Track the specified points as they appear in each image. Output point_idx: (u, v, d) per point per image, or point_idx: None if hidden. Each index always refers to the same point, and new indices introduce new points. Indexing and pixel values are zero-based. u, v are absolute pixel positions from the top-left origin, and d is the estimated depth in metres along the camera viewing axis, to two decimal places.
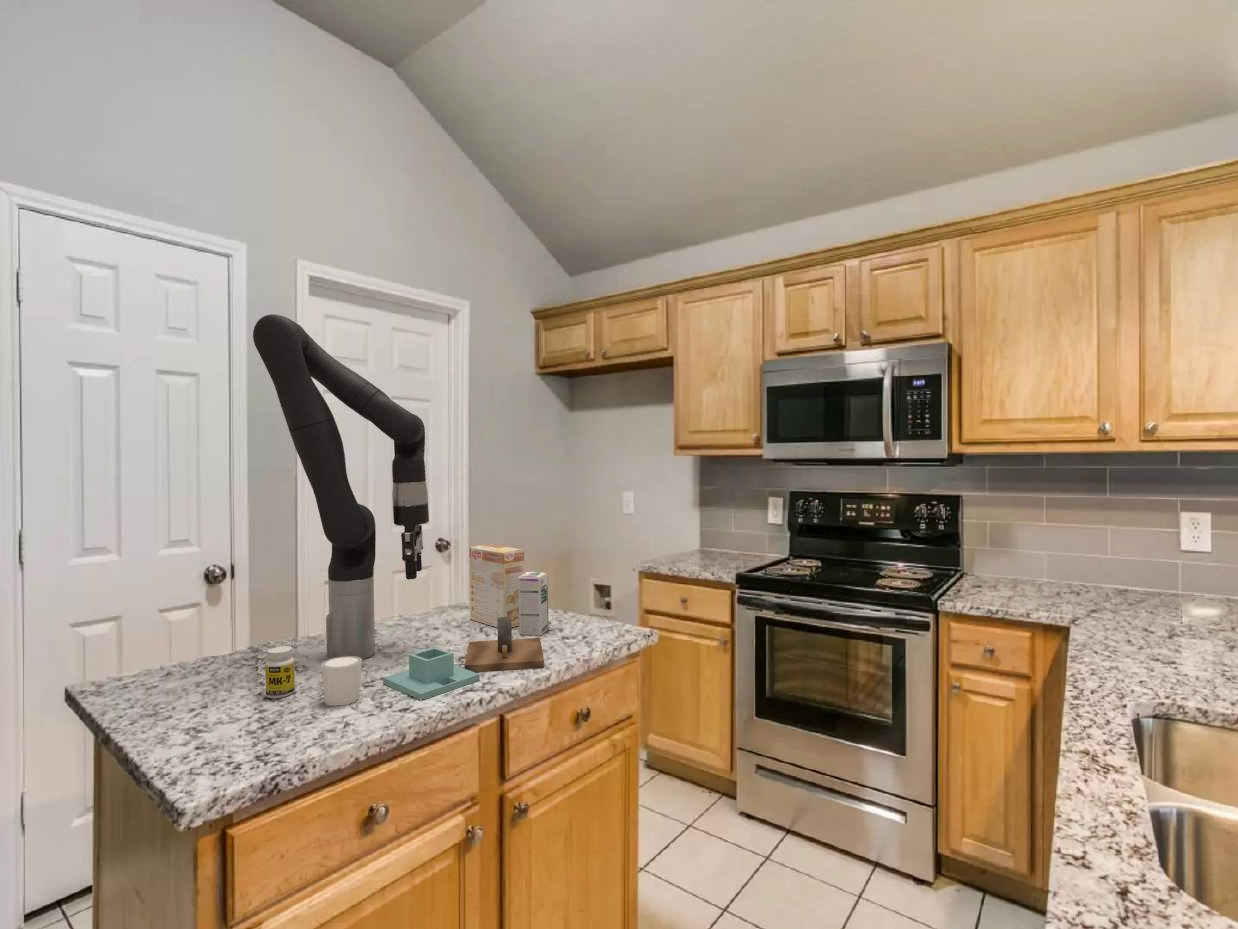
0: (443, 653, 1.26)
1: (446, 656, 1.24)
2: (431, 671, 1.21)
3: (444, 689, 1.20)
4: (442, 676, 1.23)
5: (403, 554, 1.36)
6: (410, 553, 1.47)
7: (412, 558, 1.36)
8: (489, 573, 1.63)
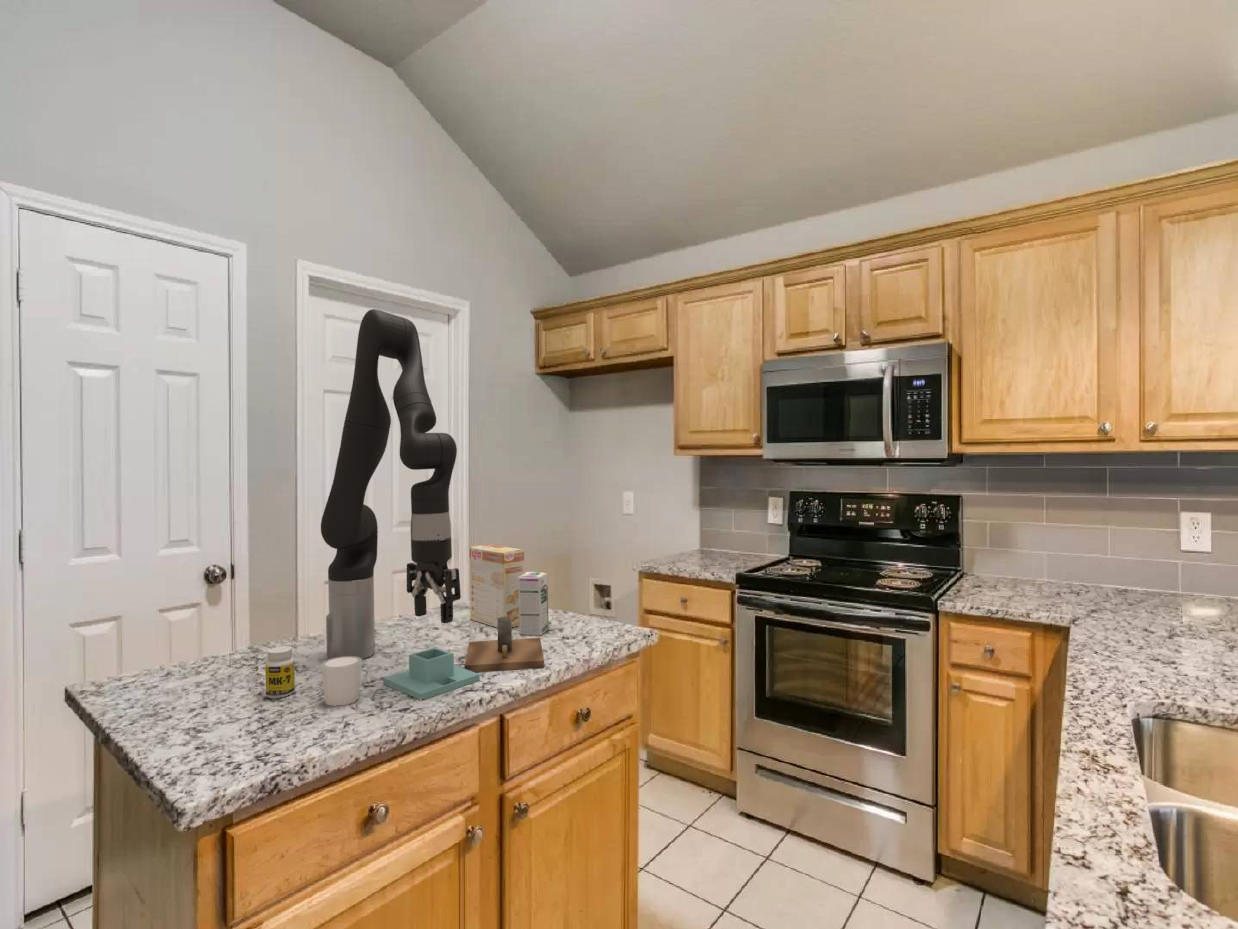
0: (443, 653, 1.26)
1: (446, 656, 1.24)
2: (431, 671, 1.21)
3: (444, 689, 1.20)
4: (442, 676, 1.23)
5: (450, 594, 1.20)
6: (415, 595, 1.27)
7: (458, 598, 1.21)
8: (489, 573, 1.63)
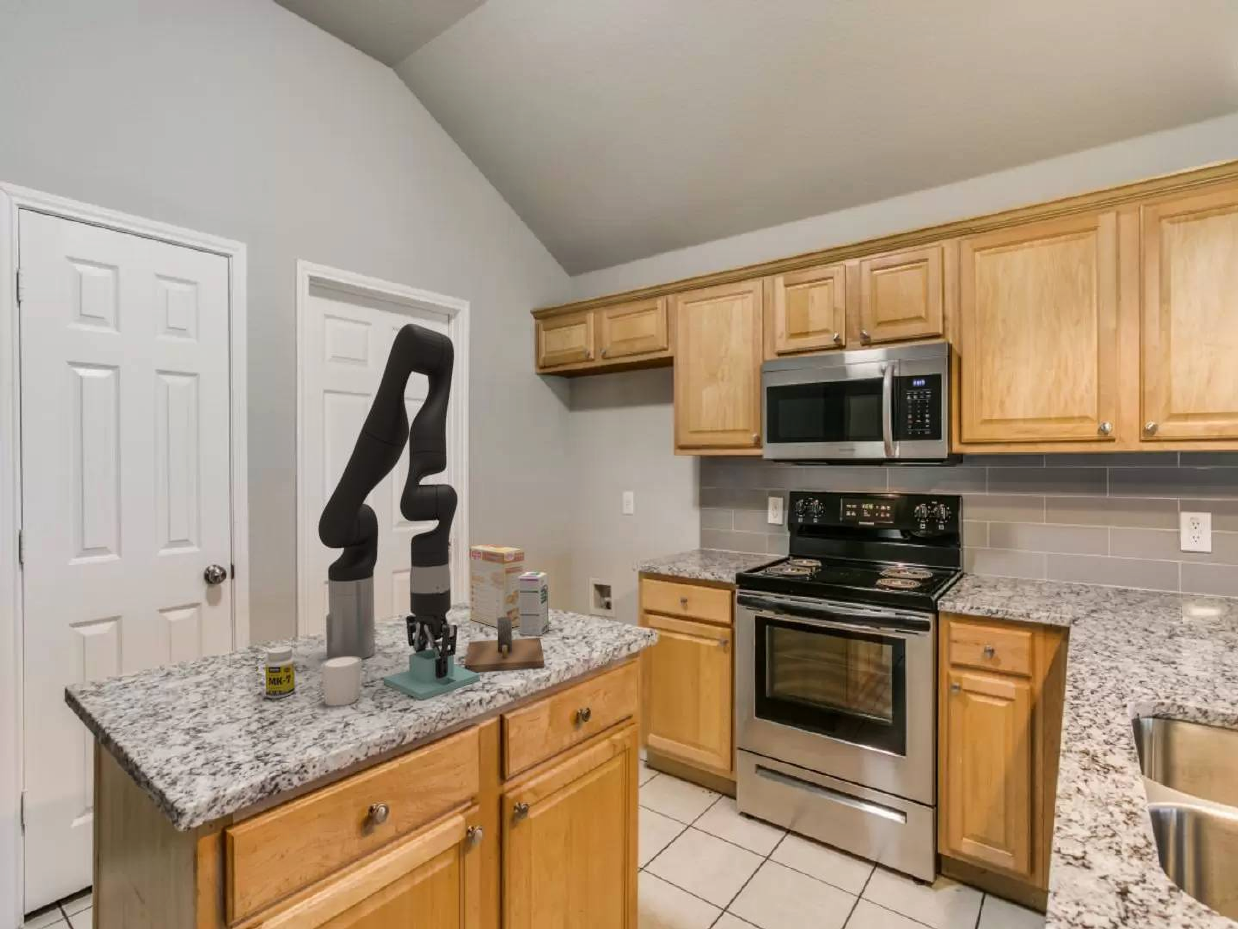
0: None
1: None
2: (431, 671, 1.21)
3: (444, 689, 1.20)
4: None
5: (446, 651, 1.20)
6: (417, 649, 1.26)
7: (453, 653, 1.22)
8: (489, 573, 1.63)
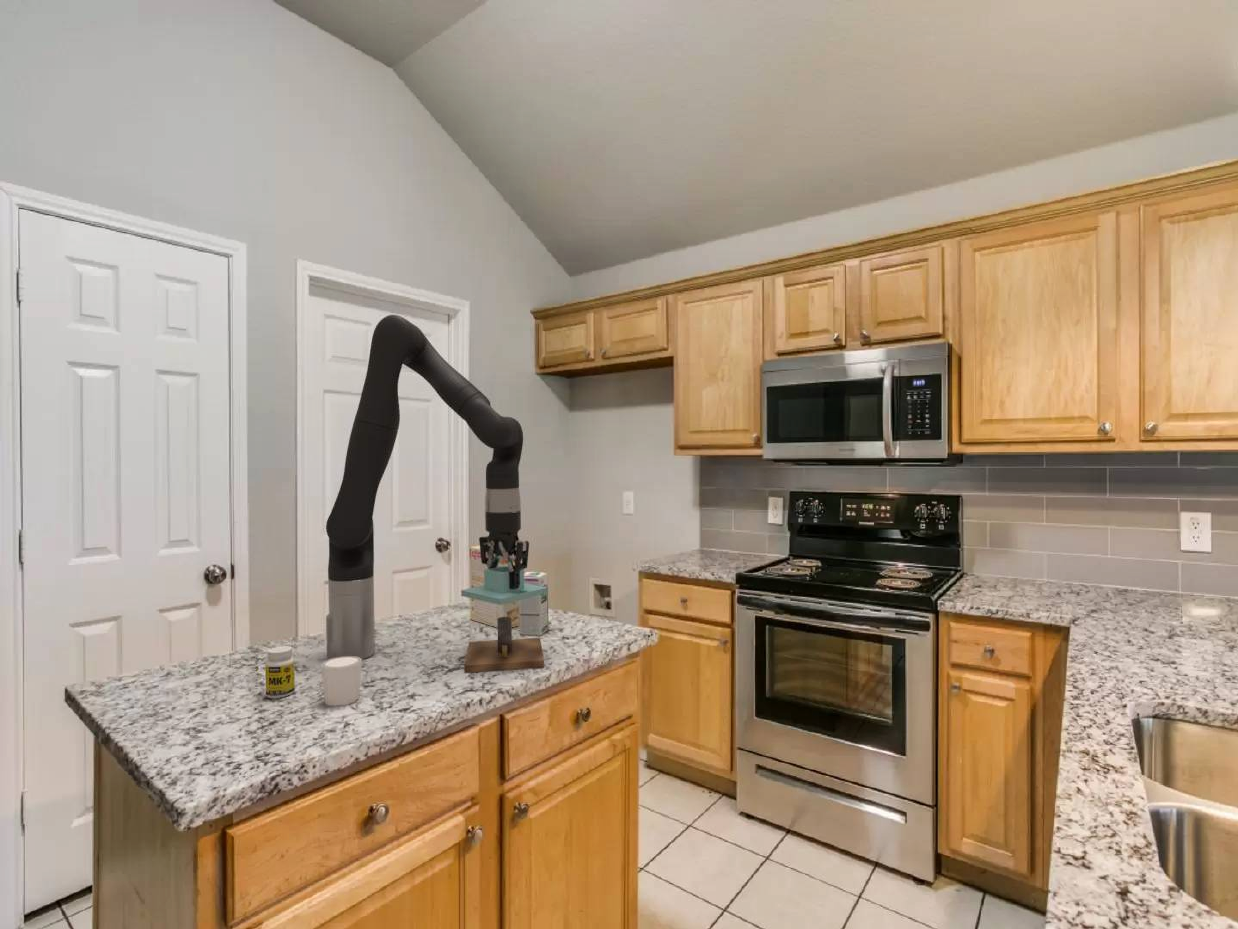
0: None
1: None
2: (505, 582, 1.35)
3: (519, 597, 1.34)
4: None
5: (519, 564, 1.34)
6: (490, 565, 1.40)
7: (525, 566, 1.36)
8: None
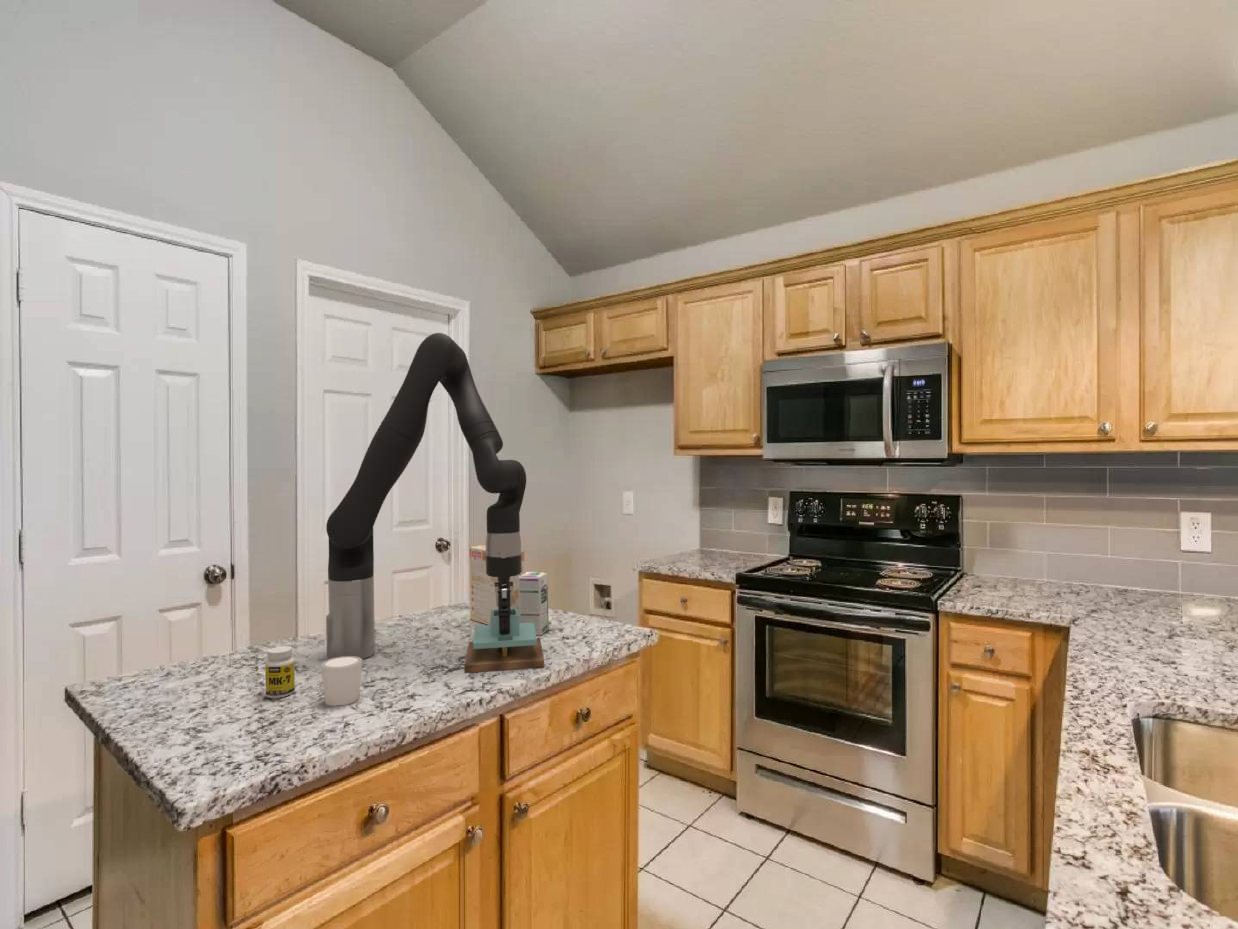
0: (515, 614, 1.39)
1: (511, 616, 1.36)
2: (494, 626, 1.36)
3: (497, 644, 1.32)
4: None
5: (499, 611, 1.33)
6: None
7: (508, 614, 1.33)
8: None
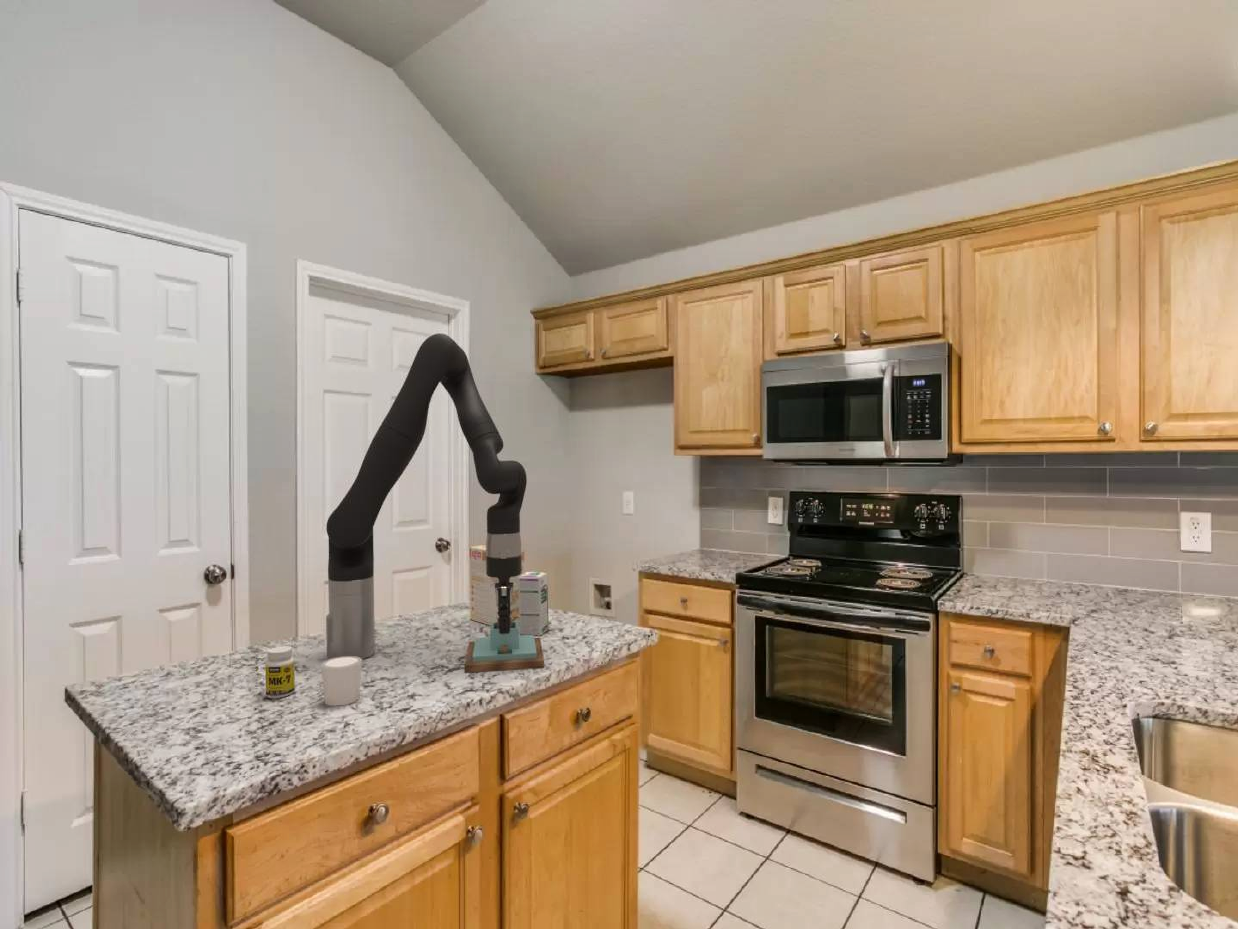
0: (515, 627, 1.39)
1: (511, 630, 1.36)
2: (494, 640, 1.36)
3: (496, 658, 1.33)
4: None
5: (499, 609, 1.32)
6: None
7: (508, 613, 1.32)
8: None
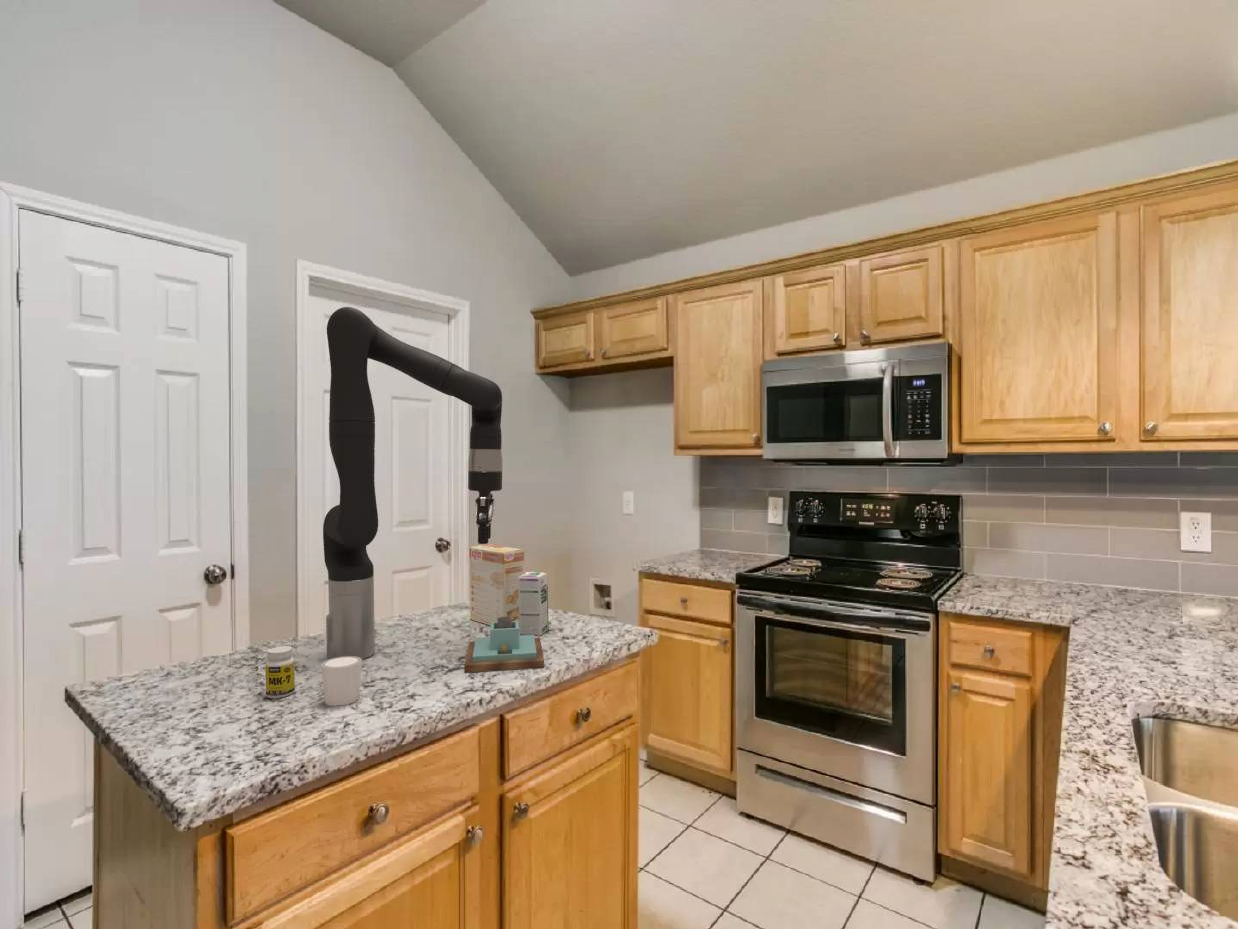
0: (515, 627, 1.39)
1: (511, 630, 1.36)
2: (494, 640, 1.36)
3: (496, 658, 1.33)
4: None
5: (478, 518, 1.38)
6: None
7: (486, 522, 1.39)
8: (489, 573, 1.63)
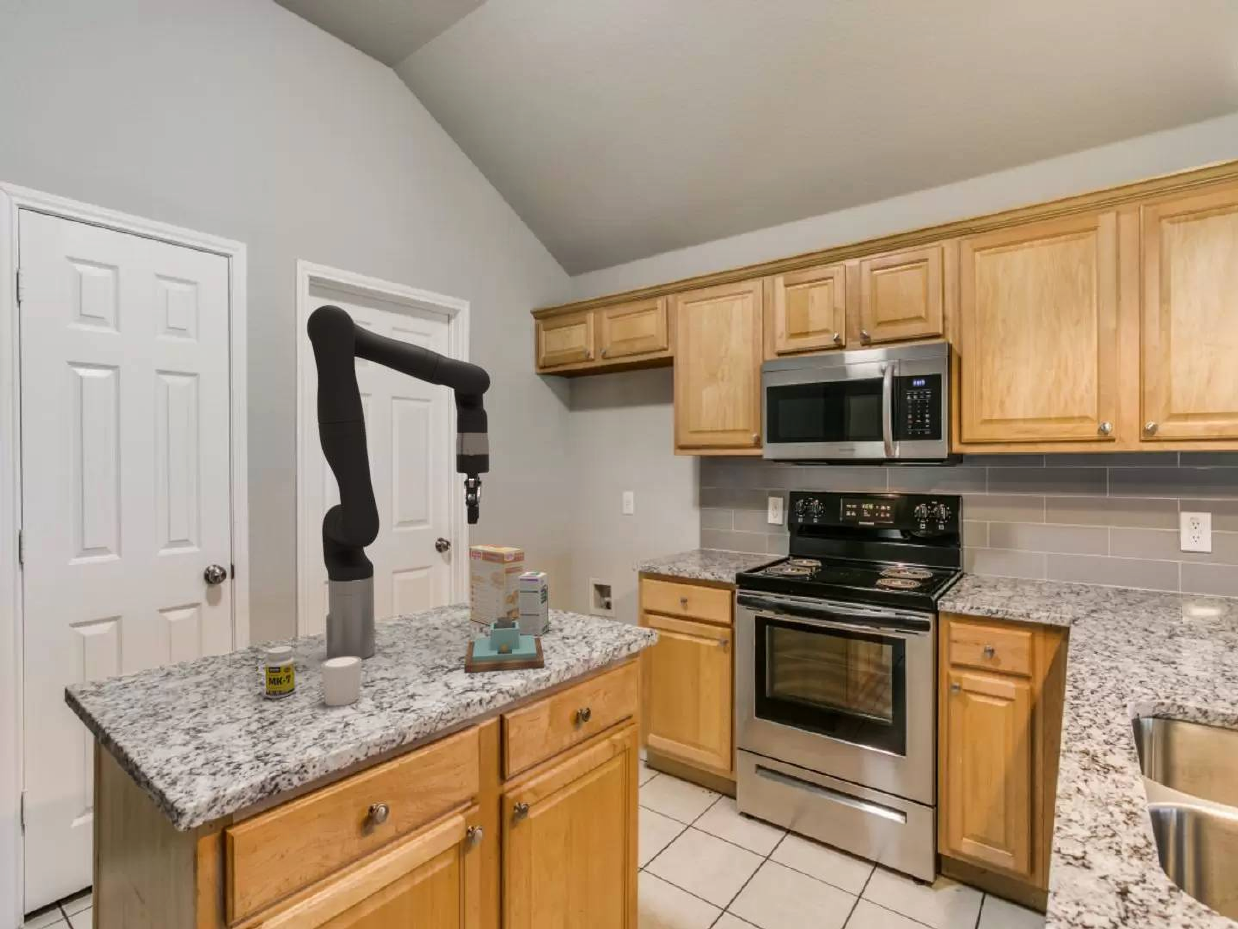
0: (515, 627, 1.39)
1: (511, 630, 1.36)
2: (494, 640, 1.36)
3: (496, 658, 1.33)
4: None
5: (467, 499, 1.44)
6: None
7: (475, 503, 1.44)
8: (489, 573, 1.63)
